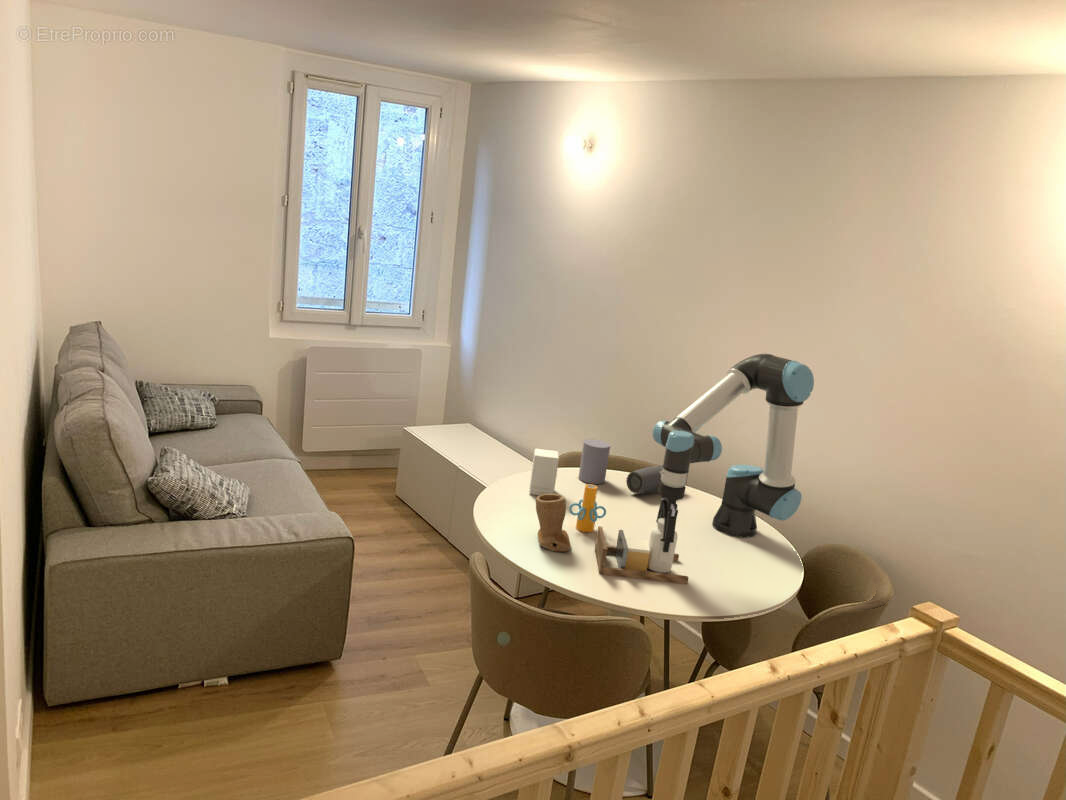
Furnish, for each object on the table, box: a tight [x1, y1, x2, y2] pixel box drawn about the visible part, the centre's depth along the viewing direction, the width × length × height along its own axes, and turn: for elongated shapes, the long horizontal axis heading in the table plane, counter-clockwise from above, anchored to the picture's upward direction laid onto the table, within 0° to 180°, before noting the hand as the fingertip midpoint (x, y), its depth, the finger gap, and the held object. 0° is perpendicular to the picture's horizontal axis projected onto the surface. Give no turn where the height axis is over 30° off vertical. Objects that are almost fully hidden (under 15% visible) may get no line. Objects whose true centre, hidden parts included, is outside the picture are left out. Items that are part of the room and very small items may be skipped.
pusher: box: [614, 529, 628, 569], centre depth 239 cm, size 1×13×8 cm, turn 0°
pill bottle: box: [647, 518, 678, 574], centre depth 238 cm, size 8×8×15 cm
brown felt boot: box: [535, 493, 572, 552], centre depth 247 cm, size 15×12×15 cm
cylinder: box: [568, 483, 607, 533], centre depth 261 cm, size 12×10×15 cm
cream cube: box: [625, 537, 650, 571], centre depth 239 cm, size 7×7×7 cm
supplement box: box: [528, 448, 560, 496], centre depth 290 cm, size 9×9×15 cm
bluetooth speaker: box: [625, 464, 663, 495], centre depth 307 cm, size 23×9×10 cm, turn 133°
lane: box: [594, 526, 689, 585], centre depth 239 cm, size 26×16×8 cm, turn 90°
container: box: [578, 438, 611, 485], centre depth 310 cm, size 10×10×15 cm
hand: (660, 554), depth 239 cm, fingers closed on pill bottle, 8 cm apart
